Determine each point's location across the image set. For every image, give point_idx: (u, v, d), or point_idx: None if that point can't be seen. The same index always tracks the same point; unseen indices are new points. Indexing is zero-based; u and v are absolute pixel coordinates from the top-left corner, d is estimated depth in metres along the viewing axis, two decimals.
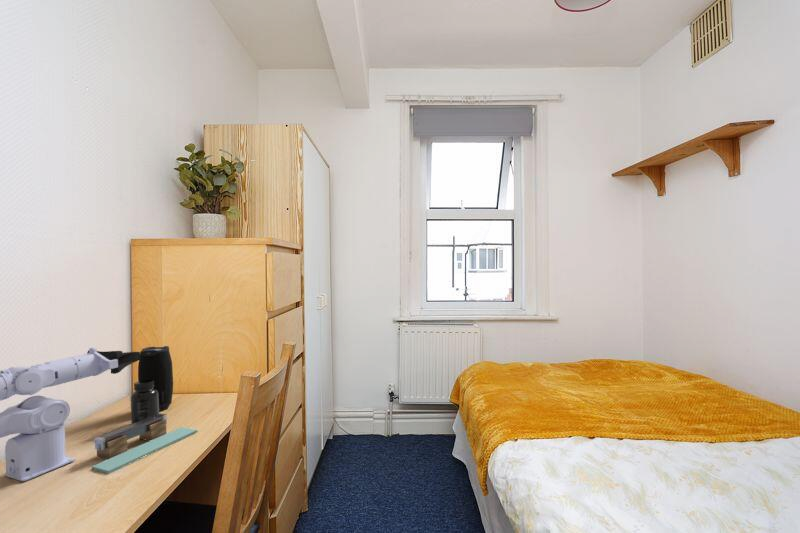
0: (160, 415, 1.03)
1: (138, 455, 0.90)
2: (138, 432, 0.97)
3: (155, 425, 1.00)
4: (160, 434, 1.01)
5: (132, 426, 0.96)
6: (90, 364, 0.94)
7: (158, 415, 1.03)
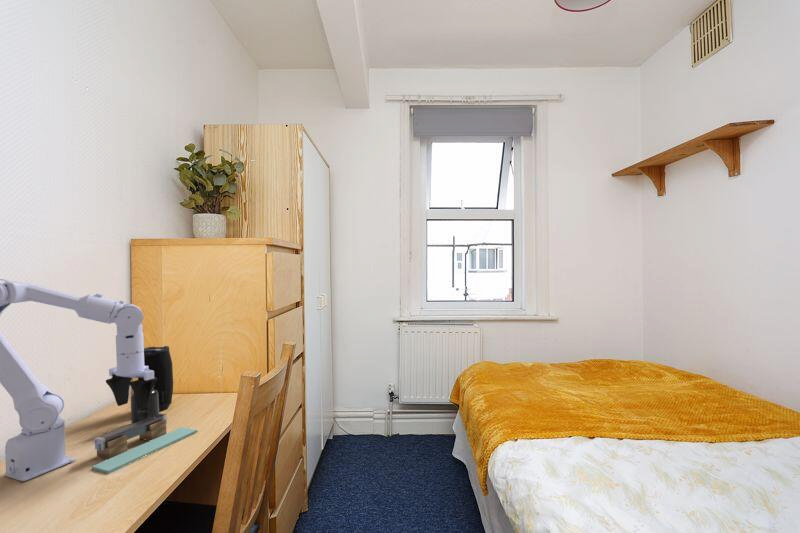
0: (160, 415, 1.03)
1: (138, 455, 0.90)
2: (138, 432, 0.97)
3: (155, 425, 1.00)
4: (160, 434, 1.01)
5: (132, 426, 0.96)
6: (140, 363, 0.96)
7: (158, 415, 1.03)
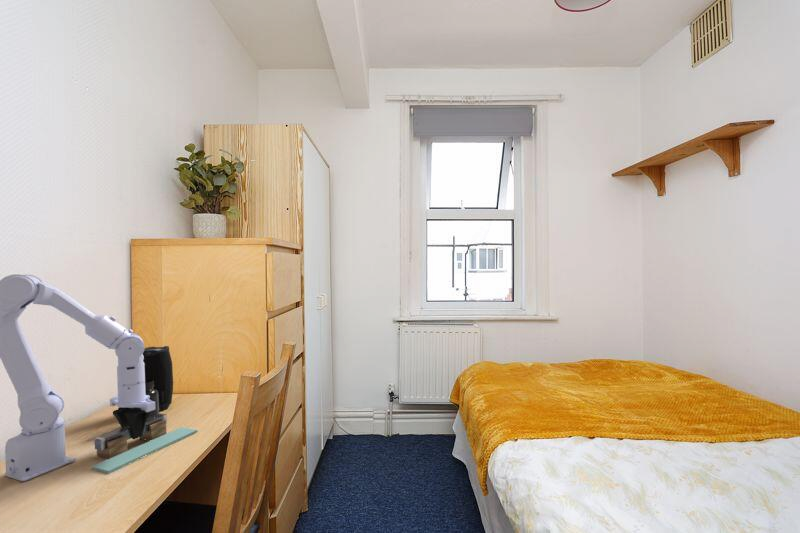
0: (160, 415, 1.03)
1: (138, 455, 0.90)
2: None
3: (155, 425, 1.00)
4: (160, 434, 1.01)
5: None
6: (141, 393, 0.96)
7: (158, 415, 1.03)
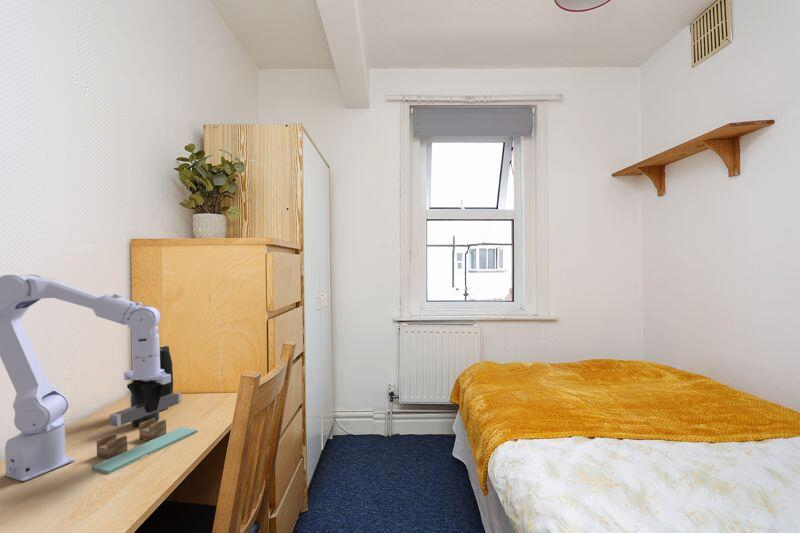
0: (175, 394, 1.01)
1: (138, 455, 0.90)
2: None
3: (155, 425, 1.00)
4: (160, 434, 1.01)
5: None
6: (156, 366, 0.94)
7: (173, 394, 1.01)
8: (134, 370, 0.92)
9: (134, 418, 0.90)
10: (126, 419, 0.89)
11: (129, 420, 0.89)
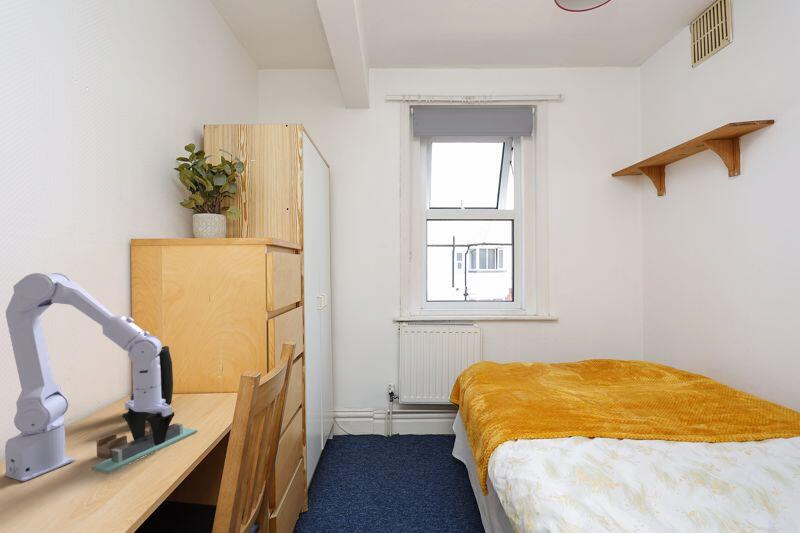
0: (176, 425, 1.01)
1: (138, 455, 0.90)
2: None
3: None
4: None
5: (148, 437, 0.94)
6: (157, 397, 0.94)
7: (174, 425, 1.01)
8: (135, 402, 0.92)
9: (135, 453, 0.90)
10: (127, 454, 0.89)
11: (130, 455, 0.89)
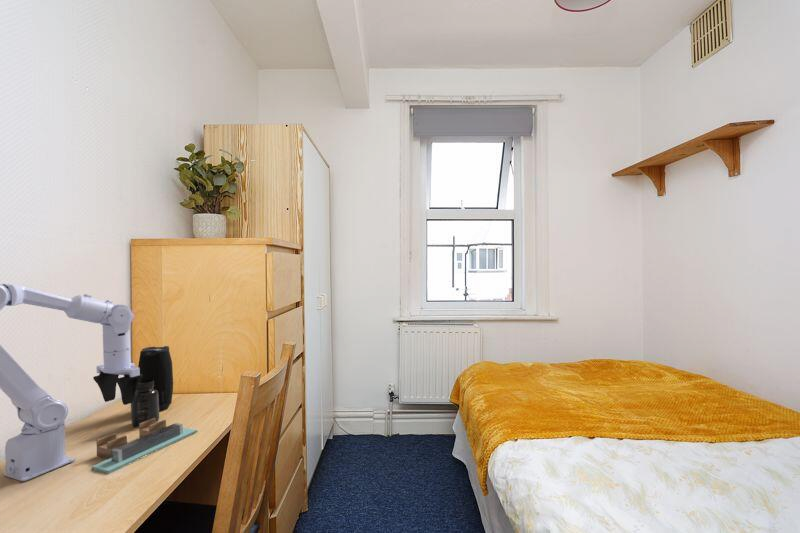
0: (176, 425, 1.01)
1: (138, 455, 0.90)
2: (155, 443, 0.95)
3: (155, 425, 1.00)
4: None
5: (148, 437, 0.94)
6: (126, 360, 1.00)
7: (174, 425, 1.01)
8: (105, 364, 0.98)
9: (135, 453, 0.90)
10: (127, 454, 0.89)
11: (130, 455, 0.89)
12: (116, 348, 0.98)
